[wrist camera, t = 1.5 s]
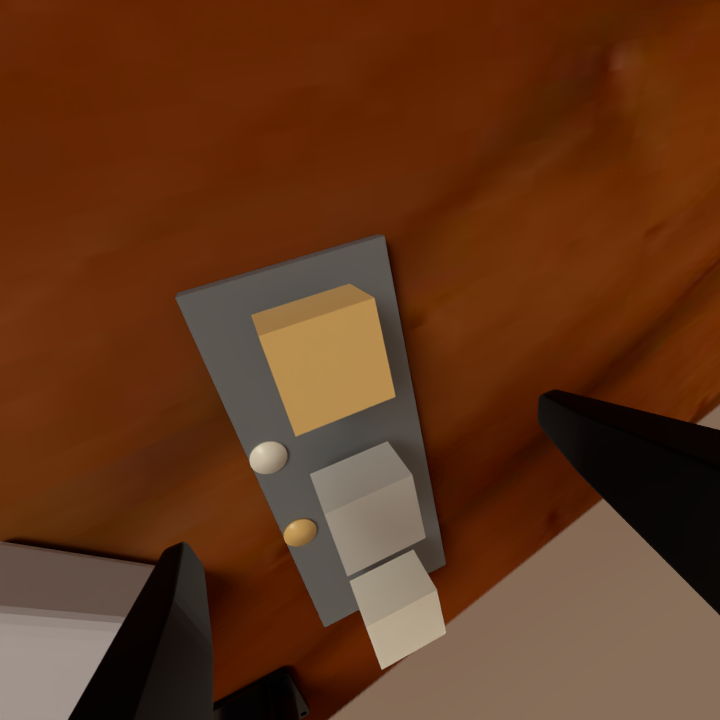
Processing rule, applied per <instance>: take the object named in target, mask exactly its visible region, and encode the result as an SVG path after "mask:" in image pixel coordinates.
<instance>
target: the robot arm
mask: <svg viewBox="0 0 720 720" xmlns="http://www.w3.org/2000/svg"><path fill="white" fill-rule="evenodd" d="M538 422H539V425H540V427H541V428H542V429H543V431H544V432H545V433H546V434H547V435H548V437H549V438H550V439H551V440H552V442H553V443H554V444H555V445H556V446H557V448H558V449H559V450H560V451H561V453H562V454H563V455H564V456H565V457H566V459H567V460H568V461H569V462H570V464H571V465H572V466H573V467H574V468H575V469H576V471H577V472H578V473H579V474H580V475H581V476H582V477H583V478H584V479H585V480H586V481H587V482H588V483H589V484H590V485H591V486H592V487H593V488H594V489H595V490H596V491H597V492H598V493H599V494H600V496H601V497H602V498H603V499H604V500H605V501H606V502H608V503H609V504H610V506H612V508H613V509H614V510H615V511H616V512H617V513H619V515H620V516H621V517H622V518H623V519H624V520H625V521H626V522H627V523H628V524H629V525H630V526H631V527H632V528H633V529H634V530H635V531H636V532H637V533H639V535H640V536H641V537H642V538H643V539H644V540H645V541H646V542H647V543H648V544H649V545H650V546H651V547H652V548H653V549H654V550H655V551H656V552H657V553H658V554H659V555H660V556H661V557H662V558H663V559H664V560H665V561H666V562H667V563H668V564H669V565H670V566H671V567H672V568H673V569H674V570H675V571H676V572H677V573H678V574H679V575H680V576H681V577H682V578H683V579H684V580H685V581H686V582H687V583H688V584H689V585H690V586H691V587H692V588H693V589H694V590H695V591H696V592H697V593H698V594H699V595H700V596H701V597H702V598H703V599H704V600H705V601H706V602H707V603H708V604H709V605H710V606H711V607H712V608H713V609H714V610H715V611H716V612H717V613H718V614H719V615H720V430H717V429H713V428H709V427H705V426H701V425H697V424H693V423H689V422H685V421H681V420H677V419H673V418H669V417H665V416H661V415H657V414H653V413H649V412H645V411H641V410H637V409H633V408H629V407H625V406H621V405H617V404H613V403H609V402H605V401H601V400H597V399H593V398H589V397H585V396H581V395H577V394H573V393H569V392H565V391H561V390H551V391H548V392H546V393H543V394H541V395H540V397H539V401H538ZM309 712H310V711H309V705H308V703H307V702H306V700H305V698H304V696H303V695H302V693H301V691H300V689H299V688H298V686H297V684H296V682H295V681H294V679H293V677H292V675H291V674H290V672H289V670H288V669H286V668H284V669H280V670H278V671H276V672H275V673H273V674H271V675H269V676H267V677H265V678H263V679H261V680H259V681H258V682H256V683H254V684H252V685H250V686H248V687H246V688H244V689H243V690H241V691H239V692H237V693H235V694H233V695H231V696H229V697H227V698H226V699H224V700H222V701H220V702H218V703H216V704H214V705H213V647H212V635H211V626H210V617H209V608H208V599H207V591H206V582H205V573H204V568H203V565H202V563H201V561H200V560H199V558H198V557H197V556H196V554H195V553H194V551H193V550H192V549H191V547H190V546H189V545H188V544H187V543H186V542H181V543H178V544H176V545H173V546H171V547H169V548H167V549H165V550H164V552H163V553H162V555H161V556H160V558H159V560H158V562H157V563H156V565H155V567H154V569H153V570H152V572H151V574H150V576H149V577H148V579H147V581H146V583H145V585H144V586H143V588H142V590H141V592H140V593H139V595H138V597H137V599H136V600H135V602H134V604H133V606H132V607H131V609H130V611H129V613H128V614H127V616H126V618H125V620H124V621H123V623H122V625H121V627H120V628H119V630H118V632H117V634H116V635H115V637H114V639H113V641H112V642H111V644H110V646H109V648H108V649H107V651H106V653H105V655H104V657H103V658H102V660H101V662H100V664H99V665H98V667H97V669H96V671H95V672H94V674H93V676H92V678H91V679H90V681H89V683H88V685H87V686H86V688H85V690H84V692H83V693H82V695H81V697H80V699H79V700H78V702H77V704H76V706H75V707H74V709H73V711H72V713H71V714H70V716H69V718H68V720H300V719H302V718H304V717H306V716H307V715H308V714H309Z"/></svg>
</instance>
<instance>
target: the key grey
mask: <svg viewBox="0 0 720 720" xmlns="http://www.w3.org/2000/svg"><path fill="white" fill-rule="evenodd" d="M310 476H311V479H312V482H313V484H314V487H315V490H316V493H317V495H318V498H319V501H320V504H321V506H322V509H323V512H324V515H325V517H326V520H327V523H328V526H329V528H330V531H331V534H332V536H333V539H334V542H335V545H336V547H337V550H338V553H339V555H340V558H341V561H342V563H343V566H344V569H345V572H346V574H347V577H348V576H350V575H352V574H354V573H356V572H358V571H360V570H362V569H364V568H366V567H368V566H370V565H372V564H374V563H376V562H378V561H380V560H382V559H384V558H386V557H388V556H390V555H392V554H394V553H396V552H398V551H400V550H402V549H404V548H406V547H408V546H410V545H412V544H414V543H416V542H418V541H420V540H422V539H424V538H426V537H425V532H424V527H423V523H422V518H421V513H420V509H419V504H418V499H417V495H416V490H415V485H414V481H413V476H412V474H411V472H410V471H409V470H408V468H407V467H406V466H405V464H404V463H403V462H402V460H401V459H400V458H399V456H398V455H397V453H396V452H395V451H394V449H393V448H392V447H391V445H390V444H389V443H388V441H387V442H384V443H382V444H380V445H377V446H375V447H373V448H370V449H368V450H366V451H363V452H361V453H359V454H356V455H354V456H351V457H349V458H347V459H344V460H342V461H340V462H337V463H335V464H333V465H330V466H328V467H326V468H323V469H321V470H318V471H316V472H314V473H311V474H310Z"/></svg>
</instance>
